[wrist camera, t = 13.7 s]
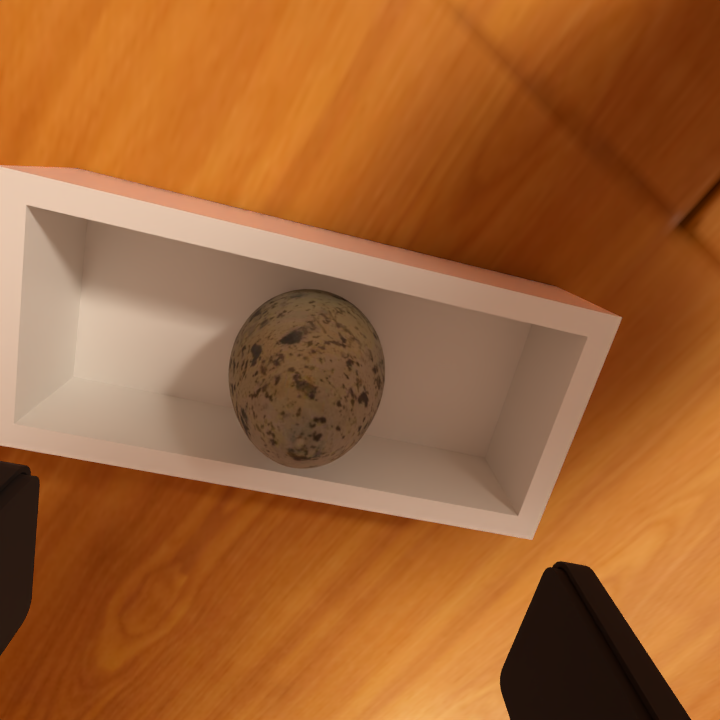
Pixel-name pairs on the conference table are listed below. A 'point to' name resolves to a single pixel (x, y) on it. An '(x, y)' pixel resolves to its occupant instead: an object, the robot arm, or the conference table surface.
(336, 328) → the decorative egg
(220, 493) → the conference table surface
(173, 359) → the open rectangular box
